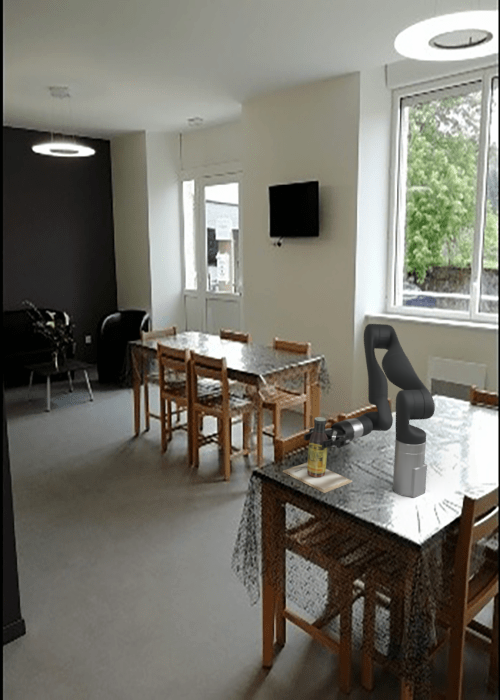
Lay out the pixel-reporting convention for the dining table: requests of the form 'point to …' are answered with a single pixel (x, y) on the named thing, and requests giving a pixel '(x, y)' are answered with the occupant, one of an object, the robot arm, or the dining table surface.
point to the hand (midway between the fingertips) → (313, 441)
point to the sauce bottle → (317, 449)
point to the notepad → (318, 478)
